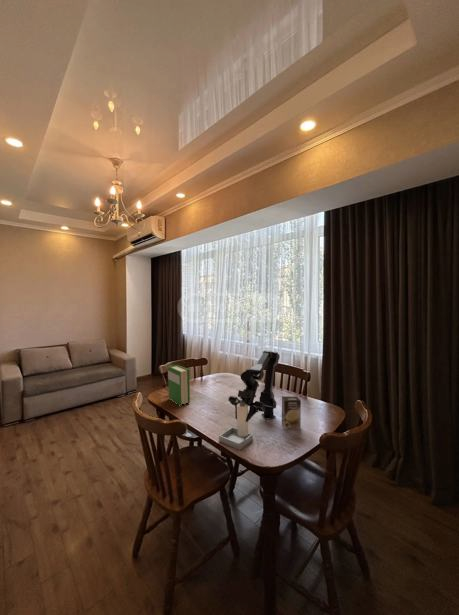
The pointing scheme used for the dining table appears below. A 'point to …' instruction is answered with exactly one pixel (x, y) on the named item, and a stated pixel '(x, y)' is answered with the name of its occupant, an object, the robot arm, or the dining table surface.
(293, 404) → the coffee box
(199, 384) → the dining table surface
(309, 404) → the dining table surface
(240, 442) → the tray
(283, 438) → the dining table surface
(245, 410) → the cream bottle
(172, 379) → the hardback book
